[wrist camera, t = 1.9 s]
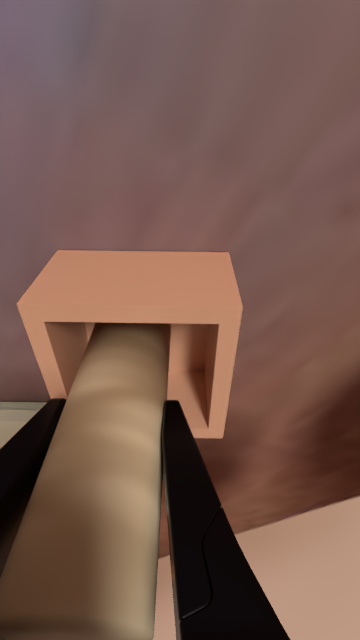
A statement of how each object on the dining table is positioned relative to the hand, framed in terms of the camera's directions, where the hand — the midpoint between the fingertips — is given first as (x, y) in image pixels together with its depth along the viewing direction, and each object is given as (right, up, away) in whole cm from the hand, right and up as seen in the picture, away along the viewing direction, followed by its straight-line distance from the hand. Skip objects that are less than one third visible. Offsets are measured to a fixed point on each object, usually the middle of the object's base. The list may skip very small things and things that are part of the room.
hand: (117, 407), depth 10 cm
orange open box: (+1, +3, +4) cm, 5 cm away
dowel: (0, +2, +3) cm, 4 cm away
